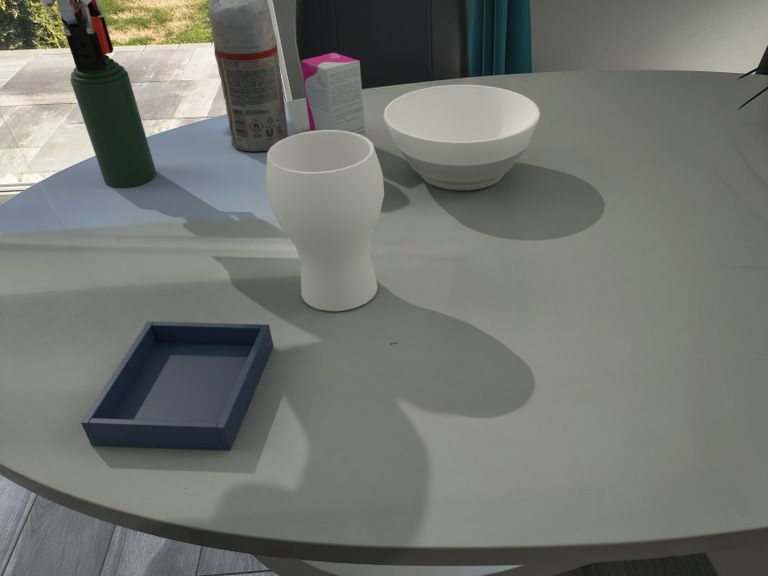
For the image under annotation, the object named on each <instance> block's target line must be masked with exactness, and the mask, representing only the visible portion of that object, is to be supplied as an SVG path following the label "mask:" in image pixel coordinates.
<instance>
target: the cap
mask: <svg viewBox="0 0 768 576" xmlns="http://www.w3.org/2000/svg"><path fill="white" fill-rule="evenodd" d="M82 18H83V17H82ZM90 18H91V22H92V26H93V31H94V32H97V33H98V37H99V40H100V43H101V46H102V50H103V53H104V55H107V54H110V53H109V52H110V49H109V45H108V42H107V39H106V35H105V32H104V28H103V25H102V22H101V19H100V18H97V17H90ZM83 20H84V19H83Z"/></svg>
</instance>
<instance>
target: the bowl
mask: <svg viewBox="0 0 768 576" xmlns="http://www.w3.org/2000/svg"><path fill="white" fill-rule="evenodd" d="M540 116H541V113H540V108H539V106H538V105H537V104H536V103H535V102H534V101H533V100H531V99H530V98H528V97H527V96H525V95H523V94H521V93H519V92H515V91H512V90H509V89H505V88H502V87H501V88H500V87H496V86H490V85H489V86H488V85H478V84H447V85H438V86H431V87H424V88H421V89H416V90H413V91H410V92H408V93H407V92H406V93H404V94H401V95H400V96H398V97H396V98H395V99H393V100H391V102H389V103H388V104H387V106H385V109H384V111H383V119H384V123H385V126H386V127H387V129H388V131H389V134H390V136H391V138H392V140H393V142H394V144H395V146H396V147H397V149H398V150H399V152H400V154H401V155H402V156H403V157H404V159H406V161H408V164H409V166H411V168H412V170H414V171H415V172H416V173H417V174H418V175H419V176H420V177H421V178H422V180H423V181H425V183H427V184H428V185H431V186H433V187H436V188H439V189H443V190H447V191H457V192H459V191H460V192H461V191H463V192H464V191H475V190H480V189H485V188H487V187H488V188H489V187H491V186H493V185H495V184H497V183H498V182H499V181H501V180H502V179H503V177H504V176H505V174H506V173H508V172H509V171H510V170H511V169H513V167H514V165H515V163H516V161H517V160H518V159H519V158H520V157H521V155H522V154H523V153H524V151H525V150H526V148H527V147H528V145H529V144H530V142H531V139H532V137H533V135H534V132H535V130H536V128H537V125H538V124H539V123H538V122H539V120H540Z"/></svg>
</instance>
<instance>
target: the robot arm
mask: <svg viewBox="0 0 768 576" xmlns="http://www.w3.org/2000/svg"><path fill="white" fill-rule="evenodd" d="M40 3H41V5H43V6H44V7H45V8H47V9H51V8H52V7H53V6H54V4H55V3H56V5H57V10H58V14H59V15H60V19H61V22H62V26H63V31H64V34H65V37H66V41H67V44H68V46H69V50H70V52H71V56H72V59H73V62H74V65H75V67H76V68H77V70H78V71H80V72H85V71H98V70H105V69H106V68H107V63H106V60H105V56H104V53H103V50H102V46H101V43H100V40H99V37H98V33H97V32H94V31H93V26H92V22H91V18H90V17H97V18H100V19H101V22H102V25H103V28H104V32H105V35H106V39H107V42H108V45H109V49H110V52H109V53H108V54H112V53H113V52H114V46H113V43H112V40H111V36H110V33H109V29H108V26H107V22H106V19H105V17H104V16H103V13H102V12H103V11H102V8H101V5H100V2H99V0H40ZM82 17H83V18H82ZM83 19H84V20H83Z"/></svg>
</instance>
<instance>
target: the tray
mask: <svg viewBox="0 0 768 576" xmlns="http://www.w3.org/2000/svg"><path fill="white" fill-rule="evenodd" d="M271 332H272V331H271V328H270V325H269V324H263V323H262V324H259V323H227V322H226V323H223V322H191V321H190V322H188V321H149V320H148V321H146V323H145V324H144V327H142V329H141V331H140V332H139V333H138V335H137V337H136V338H135V339H134V340H133V343H132V344H131V346H130V348H129V349H128V350H127V352H126V354H125V355H124V356H123V358H122V360H121V361H120V362H119V364H118V366H117V367H116V369H115V370H114V372H113V373H112V374H111V377H110V378H109V379H108V381H107V382H106V384H105V386H103V389H102V390H101V391H100V393H99V395H98V396H97V398H96V399H95V401H94V402H93V404H92V405H91V407H90V408H89V410H88V411H87V413H86V414H85V416H84V417H83V419H82V420H81V422H80V424H81V426H82V428H83V430H84V433H85V436H86V437H87V439H88V442H89V444H90V446H98V447H101V446H102V447H125V448H126V447H129V448H131V447H132V448H152V449H153V448H156V449H157V448H158V449H183V450H184V449H187V450H209V451H211V450H216V451H231V450H232V448H233V445H234V443H235V442H236V441H235V440H236V438H237V436H238V433H239V430H240V428H241V426H242V423H243V421H244V418H245V416H246V414H247V411H248V409H249V407H250V404H251V402H252V399H253V397H254V395H255V392H256V390H257V387H258V384H259V383H260V380H261V378H262V375H263V373H264V370H265V368H266V366H267V363H268V361H269V358H270V357H271V356H270V355H271V354H272V351H273V348H274V342H273V341H274V340H273V337H272V333H271Z"/></svg>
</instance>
